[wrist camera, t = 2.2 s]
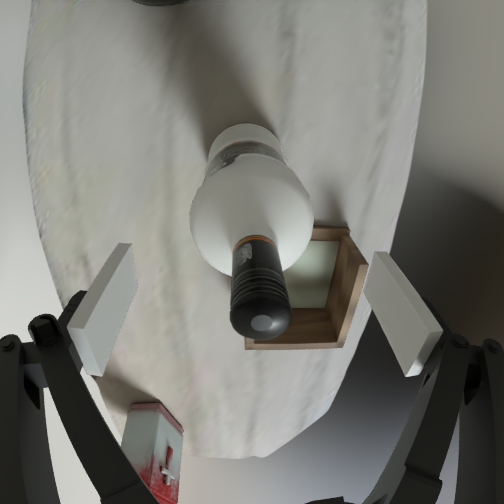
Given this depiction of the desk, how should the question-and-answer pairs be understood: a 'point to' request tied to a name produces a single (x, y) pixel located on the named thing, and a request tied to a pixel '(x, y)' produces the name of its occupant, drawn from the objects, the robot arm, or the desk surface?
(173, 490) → the bottle
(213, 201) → the vodka
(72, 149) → the desk surface
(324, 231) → the wooden box
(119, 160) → the desk surface
